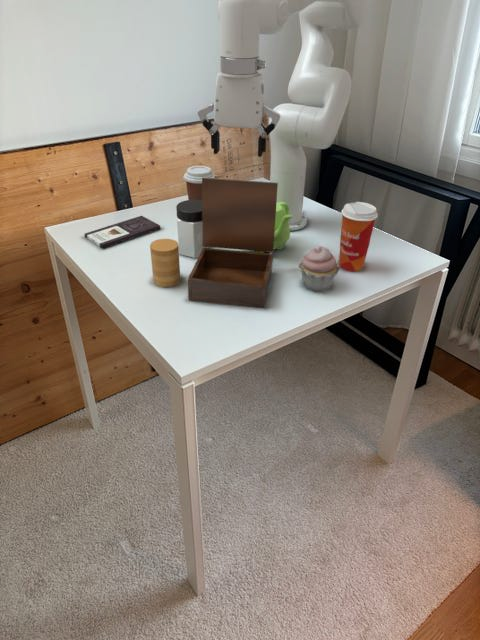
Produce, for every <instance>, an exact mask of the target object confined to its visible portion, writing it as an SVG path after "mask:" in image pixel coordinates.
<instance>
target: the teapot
mask: <svg viewBox="0 0 480 640" xmlns="http://www.w3.org/2000/svg"><path fill="white" fill-rule="evenodd" d="M281 206H284V210H283V208H282V207H281ZM288 213H289V206H288V205H287V204H286V203H285V202H278V203H277V204H276V219H275V234H274V249H273V250H281V249H282V248H283V246H284V245H285V244H286V243H287V242H288V240H289V239H290V237H291V231H290V228H289V222H288V221H289V219H290V218H291V217H293V216H292V215H288ZM253 252H258V253H265V252H261V251H253Z"/></svg>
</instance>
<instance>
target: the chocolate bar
mask: <svg viewBox="0 0 480 640" xmlns="http://www.w3.org/2000/svg"><path fill="white" fill-rule="evenodd" d="M158 230H161V225H160V224H158V223H156V222H155V221H153V220H151V219H149V218H147V217H145V216H144V215H139V216H136V217H133V218H130V219H126V220H123V221H120V222H117V223H114V224H111V225H108V226H104V227H101V228H97V229H95V230H91V231H88V232H86V233H84V238H86V239H87V240H89V241H90V242H92V243H93V244H95V245H97V246H98V247H99V248H101V249H106V248H109V247H112V246H115V245H117V244H120V243H124V242H127V241H129V240H131V239H135V238H137V237H140V236H143V235H146V234H150V233H152V232H156V231H158Z"/></svg>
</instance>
